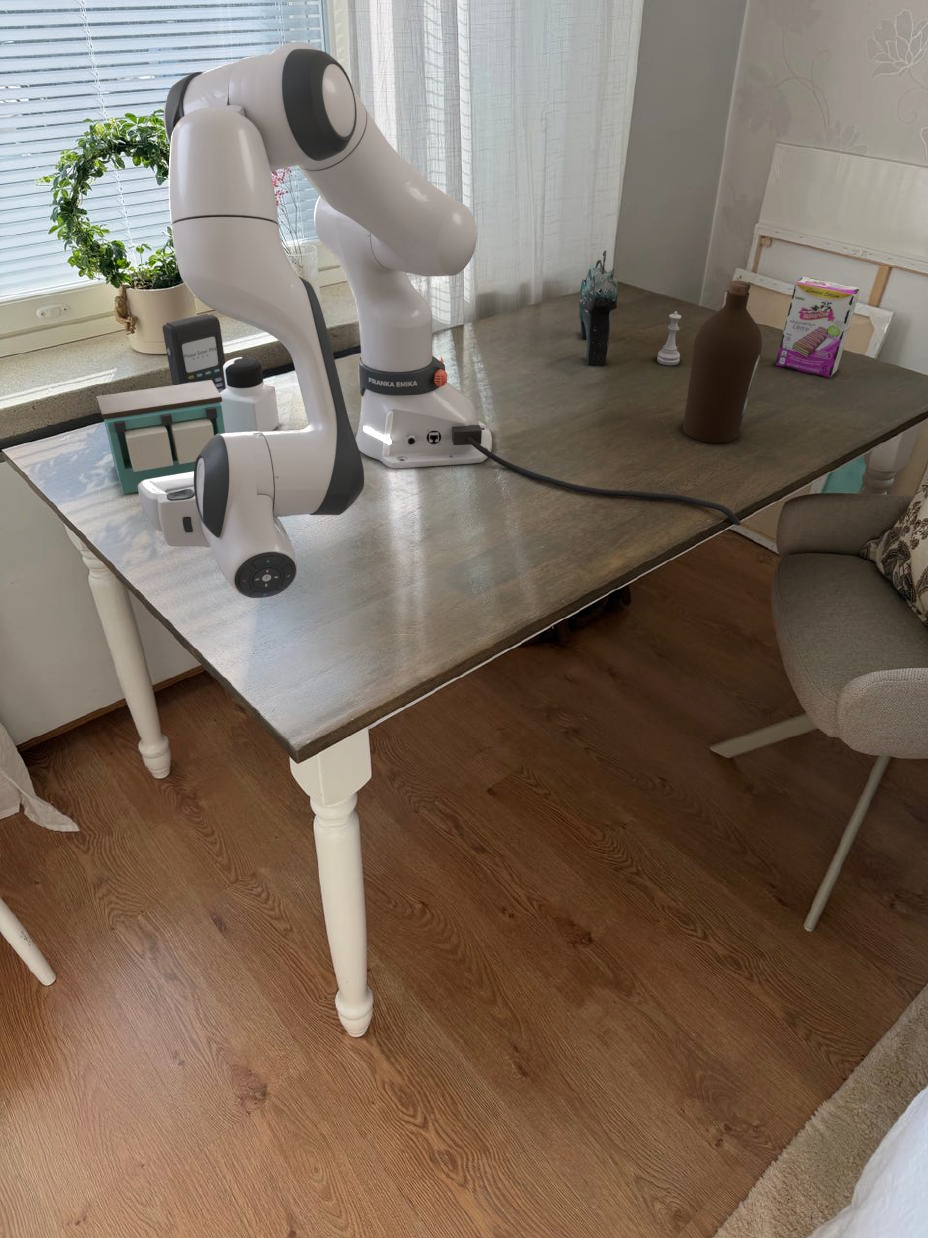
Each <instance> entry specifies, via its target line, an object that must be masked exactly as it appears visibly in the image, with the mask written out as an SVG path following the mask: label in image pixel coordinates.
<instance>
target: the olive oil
mask: <svg viewBox="0 0 928 1238" xmlns="http://www.w3.org/2000/svg"><path fill="white" fill-rule="evenodd" d="M750 289H751V283H750V282H748V281H745V280H739V279H738V280H737V279H736V280H732V281H729V284H728V290H727V291H726V296H725V303H724V306H722V307H721V308H720V309H719V310H718V311H716V312H715V313H714V314H712V315H711V316H710V317H709V318H707V320H705V321H704V322H703V323H702V324H701V325H700V327H699V329H698V331H697V333H696V335H695V337H694V341H693V349H692V355H691V356H692V357H691V367H690V374H689V381H688V387H687V388H688V390H687V396H686V405H685V411H684V418H683V424H682V430H683V432H684V433H685V434H686V435H687V436H688V437H690V438H692V439H694V440H695V441H699V442H702V443H708V444H726V443H731V442H733V441H735V440H736V439H737V438H738V437H739V435H740V431H741V428H742V423H743V419H744V415H745V411H746V408H747V405H748V401H749V397H750V393H751V389H752V386H753V382H754V379H755V375H756V371H757V369H758V364H759V361H760V358H761V354H762V348H763V337H762V332H761V330H760V328H759V326H758V324H757V322H756V321H755V320H754V318H753V317H752V315H751V313H750V312H749V310H748V309H747V307H748V302H749V299H750V298H749V297H750V292H749V291H750Z"/></svg>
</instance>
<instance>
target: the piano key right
mask: <svg viewBox="0 0 928 1238" xmlns="http://www.w3.org/2000/svg"><path fill="white" fill-rule="evenodd" d="M169 426H170V431H171V436H172V442H173V447H174V453H175V456H176V458H177V460H178V463H179V464H184V463H190V462H195V461H196V459H197V457H198V455H199V454H200V452H201V451H202V449H203V448H204V446H205V445H206V444H207V443H208V441H209V440H210V439H211V438H212V437H214V432H213V426H212V423H211V421H210V419H208V418H207V417H204V418H198V419H191V420H185V421H178V422H173V425H169Z"/></svg>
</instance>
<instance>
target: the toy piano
mask: <svg viewBox="0 0 928 1238" xmlns="http://www.w3.org/2000/svg"><path fill="white" fill-rule="evenodd" d="M95 398H96V403H97V406H98V408H99V412H100V414H101V418H102V420H103V423H104V426H105V429H106V435H107V439H108V444H109V448H110V452H111V456H112V461H113V465H114V466H113V467H114V469H115V472H116V475H117V478H118V482H119V485H120V488H121V492H122V494H123V495H129V494H134V493H139V491H138V484H139V483H140V482H141V481H143V480H145V479H152V478H158V477H163V476H169V475H175V474H181V473H187V472H193V471H194V466H195V462H190V463H184V464H179V463H178V460H177V458H176V456H175V453H174V447H173V442H172V436H171V431H170V426H169V425H173V422H178V421H185V420H191V419H198V418H204V417H207V418H208V419H210V421H211V423H212V426H213V432H214V436H215V435H216V434H223V433H225V428H224V421H223V413H222V407H221V404H220V402H222V397H221V395H220V393H219V392H218V390H217V388H216V387H215V385H214V383H213V381H212V380H208V381H201V382H194V383H187V384H179V385H173V384H172V385H167V386H158V387H151V388H144V389H138V390H130V391H124V392H118V393H117V392H116V393H109V394H103V395H96V396H95ZM159 424H163V426H165V428H166V430H167V433H168V438H169V444H170V449H171V454H172V460H173V466H167V467H161V468H155V469H149V470H143V471H137V472H134V471H133V468H132V465H131V462H130V458H129V453H128V449H127V444H126V439H125V435H124V432H127V429H133V428H140V427H146V426H153V425H159Z"/></svg>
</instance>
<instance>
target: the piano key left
mask: <svg viewBox="0 0 928 1238" xmlns="http://www.w3.org/2000/svg"><path fill="white" fill-rule="evenodd" d="M124 435H125V439H126V444H127V449H128V453H129V458H130V462H131V465H132V468H133V471H134V472H137V471H143V470H149V469H155V468H161V467H167V466H173V460H172V454H171V449H170V444H169V438H168V433H167V430H166V428H165V426H163V424H159V425H153V426H146V427H140V428H133V429H127V432H124Z"/></svg>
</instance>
